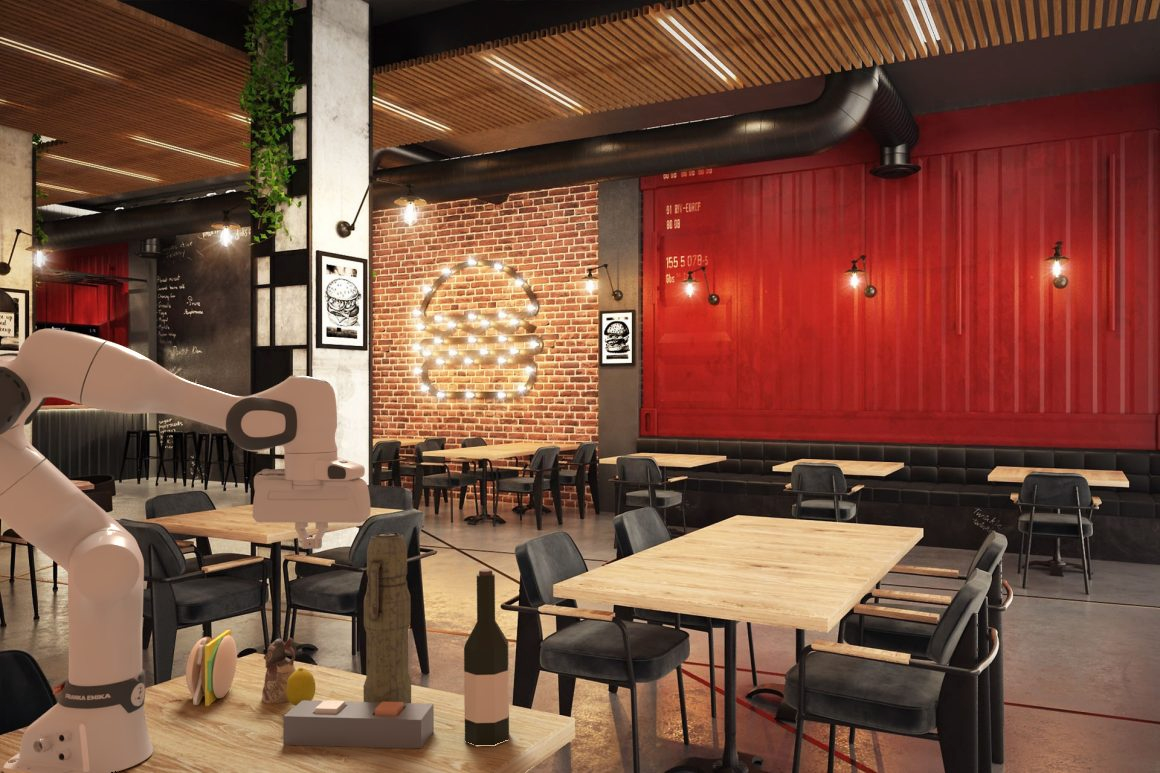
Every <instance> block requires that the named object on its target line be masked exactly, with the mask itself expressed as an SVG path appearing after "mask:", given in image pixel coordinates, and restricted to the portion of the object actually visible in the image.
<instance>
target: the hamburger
mask: <svg viewBox="0 0 1160 773" xmlns="http://www.w3.org/2000/svg"><path fill="white" fill-rule="evenodd" d="M237 655H238V653H237V645H236V642H235V640H234V638H233V637H232V630H231V629H226V630H225V631H223V632H222V633H221V634H219V635H218V636H214V637H213V636H212V638H211V637H210V636H205V637H202V638H200V639H199V640H198V641H197V642H196V643H195V644H194V646H193V647H192V649H191V650H190V653H189V656H188V659H187V662H186V666H185V667H186V668H185V681H186V686H187V689H188V691H189V693H190V694H191V695H192V697H193V698H192V704H193V706H199V705H200V702H201V701H202V699H203V695H204V706H205V707H209V706H211V705H212V704H213V703H214V702H215V701H216V700H218V699H223V698H224V697H225V696H226V695H227V693H228V692H229V690H230V688H231V687H232V684H233V681H234V678H235V674H236V671H237V661H238V660H237V659H238V656H237ZM213 701H214V702H213ZM212 702H213V703H212ZM211 703H212V704H211ZM198 704H199V705H198Z"/></svg>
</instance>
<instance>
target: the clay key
mask: <svg viewBox="0 0 1160 773" xmlns="http://www.w3.org/2000/svg"><path fill="white" fill-rule="evenodd" d="M403 710H404V702H381V703H380V704H379V705H378V706H377V708H376V709H375V715H386V716H399V714H400V713H401V712H402V711H403Z"/></svg>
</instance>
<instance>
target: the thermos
mask: <svg viewBox="0 0 1160 773" xmlns="http://www.w3.org/2000/svg"><path fill="white" fill-rule="evenodd" d="M407 575H408V547H407V544H406V542H405V537H404V535H403V534H400V533H399V532H391V531H389V532H387V531H386V532H378V533H375V534H374V535H372V536H371V537H370V540H369V543H368V546H367V549H366V577H367V583H366V592H365V595H364V598H363V627H364V631H365V632H366V634H365V636H366V637H365V638H366V639H365V640H366V642H365V643H366V646H365V649H366V650H365V651H366V654H365V655H366V658H365V660H366V663H365V665H366V666H365V667H366V669H365V670H366V673H365V674H366V678H365V681H364V684H363V702H404V703H412V680H411V677H410V674H409V629H410V626H411V622H412V621H411V610H412V609H411V606H412V605H411V593H410V591H409V587H408V580H407Z"/></svg>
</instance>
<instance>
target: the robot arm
mask: <svg viewBox="0 0 1160 773" xmlns="http://www.w3.org/2000/svg"><path fill="white" fill-rule="evenodd" d="M47 398H56V399H61V400H66V401H70V402H72V403H75V404H79V405H82V406H85V407H88V408H91V409H96V410H100V411H106V412H112V413H120V414H132V415H133V414H134V415H135V414H137V415H138V414H139V415H140V414H164V415H172V416H178V417H181V418H185V419H188V420H192V421H195V422H199V423H201V424H205V425H208V426H212V427H215V428H219V429H221V430H223V431H224V432H226V433H227V436H228V438H229V439H230V440H231V441H232V442H233V444H235V445H236V447H237V446H238V448H241V449H243V450H245V451H248V452H263V451H267V450H270V449H273V448H275V447H283V449H284V456H283V457H284V458H283V459H284V460H283V461H284V468H275V469H272V468H271V469H270V468H264V469H262V470H261V471H259V472H257V473H256V474H255V476H254V477H253V490H254V496H253V502H252V504H253V505H252V518H253V520H254V521H255V522H256V523H286V524H287V523H289V524H290V523H293V524H294V530H295V531H296V533H297V535H298V536H299V537H300V539H301V548H302V549H305V550H306V549H310V550H311V549H313V550H319V549H321V548H322V546H323V543H322V542H323V541H322V540H323V537H324V536H325V533H326V532H327V530H328V528H329V524H330V523H332V524H335V523H336V524H337V523H340V524H343V523H345V524H347V523H348V524H349V523H351V524H353V523H357V524H359V523H363V522H366V521H367V520H368V519H369V517H370V516H371V510H372V509H371V508H372V507H371V497H370V490H369V486H368V484H367V482H366V481H365V480H364V479H363V478H362V477H364V476H365V473H366V469H365V466H364V465H362V464H360V463H356V462H353V461H350V460H347V459H344V458H341V457H338V446H337V443H336V432H337V428H338V410H337V400H336V393H335V390H334V388H333V386H332V384H330V383H329V382H328V381H326V380H324V379H323V378H318V377H312V376H306V375H300V374H295V375H289V377H287V378H286V379H285V380H284V381H281V382H280V383H279V384H276V385H274V386H272V387H270V388H268V389H266V390H263V391H260V392H257V393H254V394H250V395H235V394H232V393H231V394H230V393H226V392H224V391H220V390H217V389H214V388H211V387H207V386H204V385H201V384H197V383H194V382H191V381H190V380H187V379H185V378H183V377H180V376H178V375H176V374H174V373H173V372H171V371H169V370H167V369H166V368H165V367H163V366H161V365H160V364H158V363H157V362H155V361H153V360H151V359H150V358H148V357H146V356H144V355H143V354H141V353H139V352H137V351H135V350H133V349H130V348H127V347H126V346H123V345H120V344H118V343H115V342H112V341H109V340H105V339H103V338H100V337H95V336H92V335H88V334H84V333H80V332H75V331H68V330H64V329H55V328H43V329H38V330H36V331H34V332H32V333H31V334H30V335H29V336H28V337H27V338H25V340H24V341H23V343H22V344H21V346H20V348H19V350H18V352H8V353H7V352H6V353H1V354H0V520H1V521H2V522H3V523H5V525H7V526H8V527H10V529H11V530H13V531H14V533H16V534H17V535H19V537H20V538H21V539H23V540H24V541H25V542H27V543H29V544H30V545H32V546H33V547H35V548H36V549H37V550H38V551H40V552H41V553H43V554H44V555H45V556H47V557H48V558H49V559H51V560H52V561H53V562H55V563H56V564H57V565H59V566H60V567H61V568H63V570H65V572H67V602H68V603H67V610H68V611H67V612H68V613H67V616H68V617H67V618H68V619H67V620H68V623H67V625H68V679H66V680H64V681H62V682H61V683H60V684H58V685H56V686H55V687H53V688H52V690H54V691H53V692H52V694H53V695H56V694H58V693H60V692H61V693H60V695H59V698H58V701H57V703H56V704H55V705H53V706H52V707H51V708H49V709H48V710H47V711H46V712H45V713H43V714H42V715H41V716H40V717H38V718H37V719H36V720H34V721H33V722H32V723H31V724H30V725H29V726H28V727H27V728H26V729H25V730H24V733H23V735H22V737H21V741H20V747H19V752H18V753H16V754H15V755H14V756H12V757H10V758H9V759H8V760H7V761H6V762H5V763H4V765H3V767H2V769H3V768H5V769H9V770H16V771H23V772H31V773H111V772H113V773H116V772H119V771H123V770H126V769H129V768H132V767H134V766H136V765H138V764H140V763H142V762H144V761H145V760H147V759H148V758H149V757H150V756H152V755H153V753H154V747H153V745H152V741H151V738H150V734H149V730H148V726H147V721H146V713H145V698H146V671H145V669H143V614H144V585H145V584H144V583H145V582H144V581H145V562H144V561H145V560H144V557H143V554H142V552H141V551H142V550H141V549H140V547H139V544H138V542H137V540H136V538H135V537H134V536H133V535H132V533H131V532H129V531H128V530H127V529H126V528H125V527H123V525H121V524H120V523H119V522H118V521H117V520H116V519H114V518H113V516H111V515H110V514H109V513H108V512H106V511H105V510H104V509H103V508H102V507H101V506H99V505H98V504H97V503H96V502H95V501H94V500H92V499H91V498H90V497H89V496H88V495H87V494H86V493H85V492H83V491H82V490H81V489H80V488H79V487H78V486H76V485H75V483H74V482H72V481H71V480H70V479H69V478H68V477H67V476H66V475H65V474H64V473H63V472H62V471H61V470H59V468H57V467H56V466H55V465H54V464H53V463H52V462H51V461H50V460H48V458H46V457H45V455H43V454H42V453H41V452H40V451H39V450H37V448H36V447H34V446H33V445H32V443H30V442H29V440H28V438H27V437H26V435H25V432H24V431H25V429H24V428H25V426H27V425H30V424H31V422H32V421H33V420H34V418H35V417H36V415H37V414H38V413H39V410H40V409H41V408H42V407H43V405H44V403H45V402H46V400H47ZM310 523H312V524H314V523H315V529H316V530H317V533H316V535H315V536H310V535H309V533H308V532H307V530H306V529H307V528H308V527H309V525H308V524H310ZM10 760H15V761H16V762H13V763H8V761H10ZM30 768H31V769H30ZM115 771H116V772H115Z"/></svg>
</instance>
